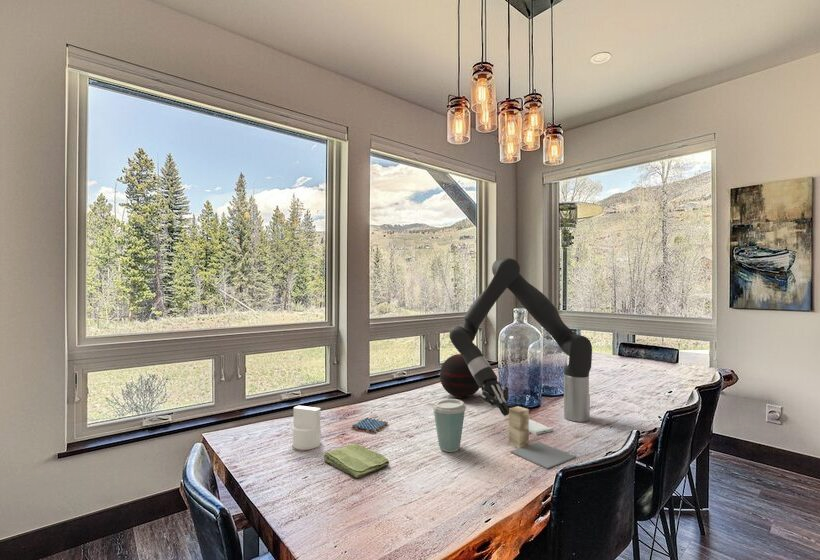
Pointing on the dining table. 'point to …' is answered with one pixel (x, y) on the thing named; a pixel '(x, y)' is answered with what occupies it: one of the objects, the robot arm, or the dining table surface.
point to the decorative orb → (457, 377)
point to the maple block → (518, 426)
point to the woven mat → (370, 425)
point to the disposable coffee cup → (449, 423)
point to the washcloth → (355, 460)
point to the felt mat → (543, 455)
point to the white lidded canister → (306, 427)
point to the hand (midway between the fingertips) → (507, 414)
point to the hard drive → (538, 428)
